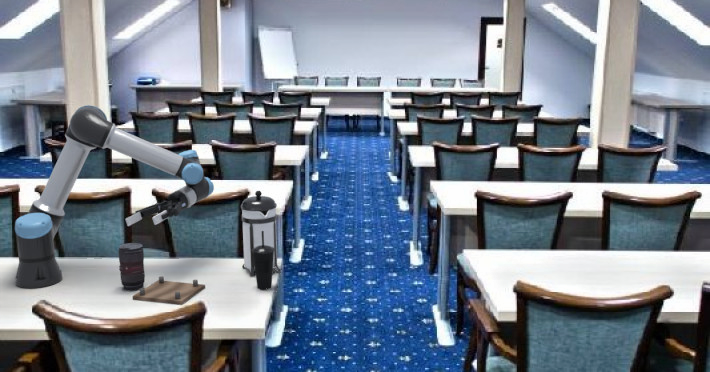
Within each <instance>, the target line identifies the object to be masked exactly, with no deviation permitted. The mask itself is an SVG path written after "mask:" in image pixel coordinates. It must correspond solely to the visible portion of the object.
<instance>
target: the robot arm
mask: <svg viewBox="0 0 710 372" xmlns="http://www.w3.org/2000/svg"><path fill="white" fill-rule="evenodd" d="M70 117H71V118H70V120H69V124H68V126H67V129H66V132H65V134H64V136H65V138H66V141H65V144H64V145H63V148H62V150H61V152H60V153H59V154H60V155H59V157H58V158H57V161H56V163H55V165H54V167H53V169H52V172H51V174H50V176H49V178H48V179H47V181H46V184H45V186H44V189H43V191H42V193H41V195H40V197H39V199H36V200H33V201H32V204H31V206H30V208H29V209H28V212H27V214H24V215H21V216H19V217H18V218H17V219H16V220H15V223H14V231H15V237H16V244H17V253H18V254H17V255H18V265H17V266H18V267H17V270H16V275H15V285H16V286H17V287H19V288H22V289H38V288H44V287H45V288H46V287H49V286H52V285H55V284H58V283H59V282H61V281H62V280H63V272H62V270H61V269H60V266H59V263H58V261H57V258H56V255H55V243H54V238H55V236H56V234H57V233H58V231H59V228H60V225H61V224H62V221H63V219H64V217H65V215H66V212H65V211H64V207H65V205H66V202H67V200H68V198H69V197H70V194H71V192H72V190H73V187H74V186H75V183H76V181H77V179H78V177H79V175H80V173H81V171H82V168H83V167H84V164H85V162H86V160H87V158H88V155H89V154H90V151H91V150H94V149H97V147H98V148H101V149H103V150H104V149H106V148H108V149H110V150H112V151H115V152H116V153H117V152H118V153H120V154H122V155H124V156H127V157H130V158H132V159H133V160H135V161H139V162H141V163H144V164H146V165H149V166H151V167H153V168H155V169H158V170H160V171H163V172H164V173H167V174H169V175H173V176H175V177H177V178H179V179H181V180H183V181H184V183H185V186H182V187H180V188H179V189H177V190H175V191H173V192H171V193H170V194H169V195H168V196H167V198H166V200H164V201H162V202H159V201H158V202H156V203H154V204H151V205H149V206H146V207H144V208H141V209H138V210H136V211H134V214H132V215H131V216H128V217H126V218H125V222H126V225H127V227H130V226H132V225H133V224H136V223H137V222H139V221H142V219H143V218H146V217H149V216H152V215H154V216H153V217H152V218H151V219H152V221H153V225H155V226H156V225H158V224H160V223H162V222H164V221H165V220H166V219H169V218H172V217H173V216H174V217H177V216H179V214H180V213H181V212H183V211H184V210H186V209H187V208H191V206H193V205H194V204H196V203H198V202H200V201H203V200H204V199H207V197H210V195H212V193H214V191H215V185H214V182H212V181H211V178H209V177H208V176H207V177H206V176H205V175H204V169H203V167H202V163H201V161H200V158H199V155H198V153H197V150H195V149H189V150H184V151H183V152H180V153H175V152H173V151H171V150H168V149H165V148H164V147H161V146H160V145H156V144H154V143H152V142H150V141H147V140H145V139H143V138H140V137H138V136H136V135H134V134H132V133H129V132H126V131H125V130H122V129H120V128H118V127H116V124H115V123H114V122H112V121H110V120H108V118H107V115H106V113H105V112H104V110H102V109H101V108H100V107H97V106H94V105H89V104H88V105H83V106H80V107H79V108H78V109H76V110H75V112H74V113H73V115H72V116H70ZM155 214H156V215H155Z"/></svg>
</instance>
